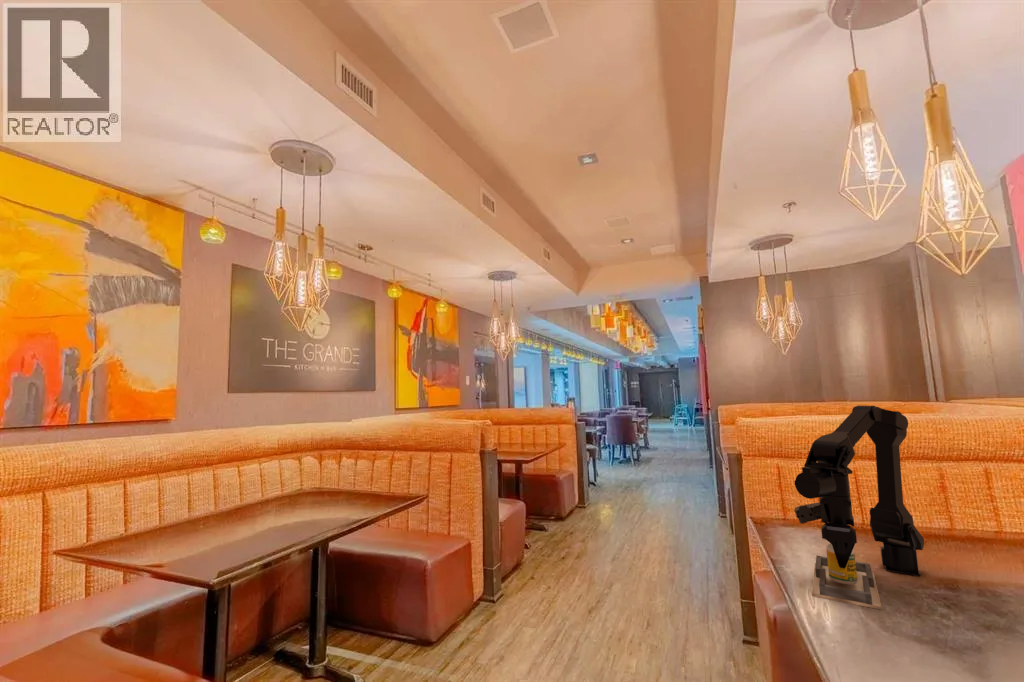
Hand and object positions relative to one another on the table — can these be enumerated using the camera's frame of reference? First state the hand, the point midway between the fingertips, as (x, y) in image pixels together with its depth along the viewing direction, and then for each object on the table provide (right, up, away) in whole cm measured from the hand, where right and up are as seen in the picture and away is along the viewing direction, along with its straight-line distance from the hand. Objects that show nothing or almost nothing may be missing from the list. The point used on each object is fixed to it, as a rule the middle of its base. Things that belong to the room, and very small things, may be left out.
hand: (842, 564), depth 104 cm
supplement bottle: (0, -4, 0) cm, 4 cm away
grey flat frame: (+1, -5, +1) cm, 6 cm away
